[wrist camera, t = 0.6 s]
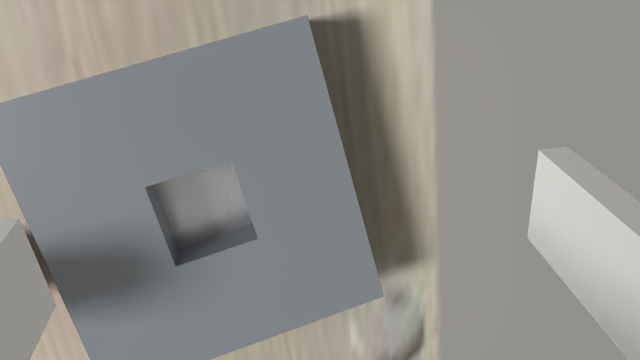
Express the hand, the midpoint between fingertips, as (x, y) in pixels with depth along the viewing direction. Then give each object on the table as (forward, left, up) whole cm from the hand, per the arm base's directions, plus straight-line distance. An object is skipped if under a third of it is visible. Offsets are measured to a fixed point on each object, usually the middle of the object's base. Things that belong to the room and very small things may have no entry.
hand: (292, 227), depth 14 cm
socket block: (+4, -4, -25) cm, 26 cm away
